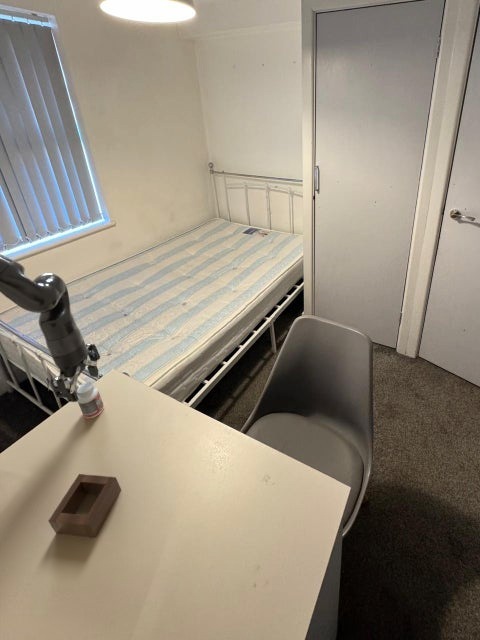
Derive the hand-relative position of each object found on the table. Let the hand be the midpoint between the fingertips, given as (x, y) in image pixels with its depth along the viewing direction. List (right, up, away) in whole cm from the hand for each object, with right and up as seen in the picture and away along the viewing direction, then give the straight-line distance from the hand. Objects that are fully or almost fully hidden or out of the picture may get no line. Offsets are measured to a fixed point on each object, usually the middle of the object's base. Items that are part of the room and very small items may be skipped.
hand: (85, 387), depth 92 cm
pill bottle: (0, -9, +4) cm, 10 cm away
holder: (+14, -19, -19) cm, 30 cm away
